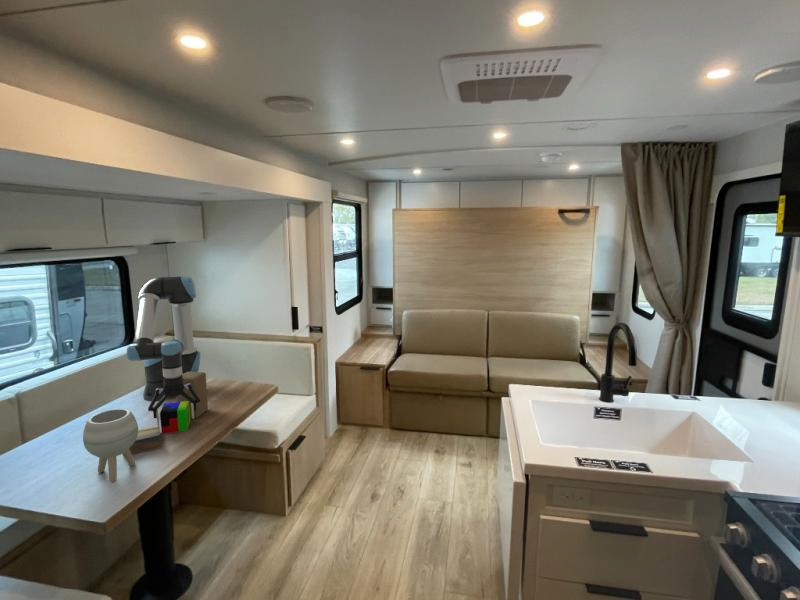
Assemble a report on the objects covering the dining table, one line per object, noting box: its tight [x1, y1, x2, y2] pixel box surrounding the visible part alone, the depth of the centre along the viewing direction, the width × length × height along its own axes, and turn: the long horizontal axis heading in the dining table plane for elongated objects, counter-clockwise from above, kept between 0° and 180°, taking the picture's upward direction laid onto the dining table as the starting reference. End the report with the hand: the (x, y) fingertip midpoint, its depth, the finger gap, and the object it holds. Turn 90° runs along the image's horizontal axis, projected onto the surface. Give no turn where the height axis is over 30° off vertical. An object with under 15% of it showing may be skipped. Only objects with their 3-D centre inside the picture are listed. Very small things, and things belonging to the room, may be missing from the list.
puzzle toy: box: [159, 401, 191, 435], centre depth 180 cm, size 10×10×10 cm
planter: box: [82, 408, 139, 483], centre depth 144 cm, size 16×16×22 cm
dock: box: [129, 425, 162, 455], centre depth 166 cm, size 15×13×6 cm
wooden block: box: [176, 371, 209, 419], centre depth 192 cm, size 10×10×20 cm
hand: (176, 420), depth 180 cm, fingers open, 13 cm apart
